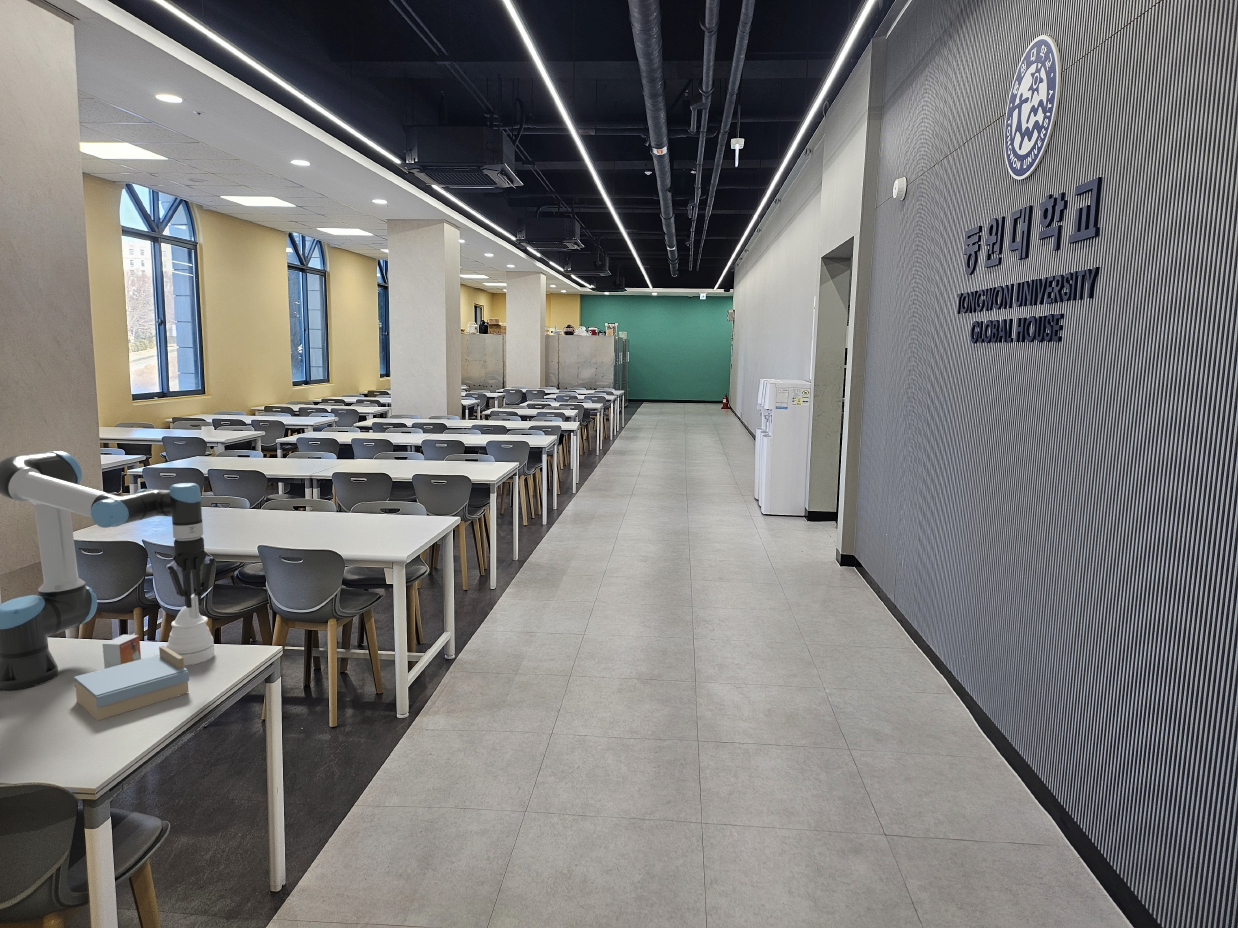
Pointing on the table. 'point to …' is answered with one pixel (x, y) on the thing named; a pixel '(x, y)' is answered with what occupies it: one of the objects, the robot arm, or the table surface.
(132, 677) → the lid
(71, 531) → the robot arm
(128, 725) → the table surface
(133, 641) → the small box
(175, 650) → the honey pot
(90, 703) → the tray
